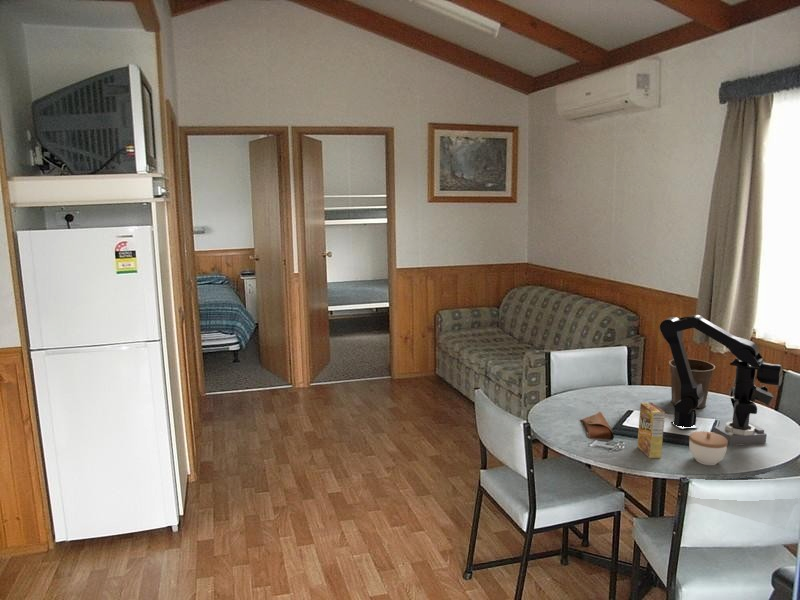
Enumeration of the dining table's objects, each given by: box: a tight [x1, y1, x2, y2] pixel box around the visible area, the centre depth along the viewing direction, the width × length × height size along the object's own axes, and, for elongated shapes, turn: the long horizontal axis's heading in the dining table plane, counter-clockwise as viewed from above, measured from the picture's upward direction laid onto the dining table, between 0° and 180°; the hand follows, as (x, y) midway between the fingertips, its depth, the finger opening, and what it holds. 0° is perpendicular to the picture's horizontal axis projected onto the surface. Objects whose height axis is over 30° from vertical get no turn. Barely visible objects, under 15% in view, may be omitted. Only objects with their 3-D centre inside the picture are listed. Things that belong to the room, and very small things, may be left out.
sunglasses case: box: [580, 411, 615, 440], centre depth 224 cm, size 18×7×7 cm
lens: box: [731, 407, 751, 430], centre depth 214 cm, size 5×5×8 cm
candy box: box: [636, 402, 666, 459], centre depth 204 cm, size 9×4×15 cm, turn 6°
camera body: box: [712, 421, 767, 447], centre depth 215 cm, size 13×9×4 cm
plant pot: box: [668, 358, 716, 410], centre depth 247 cm, size 16×16×16 cm
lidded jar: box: [688, 430, 729, 466], centre depth 198 cm, size 11×11×9 cm
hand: (740, 424), depth 215 cm, fingers closed on lens, 5 cm apart
